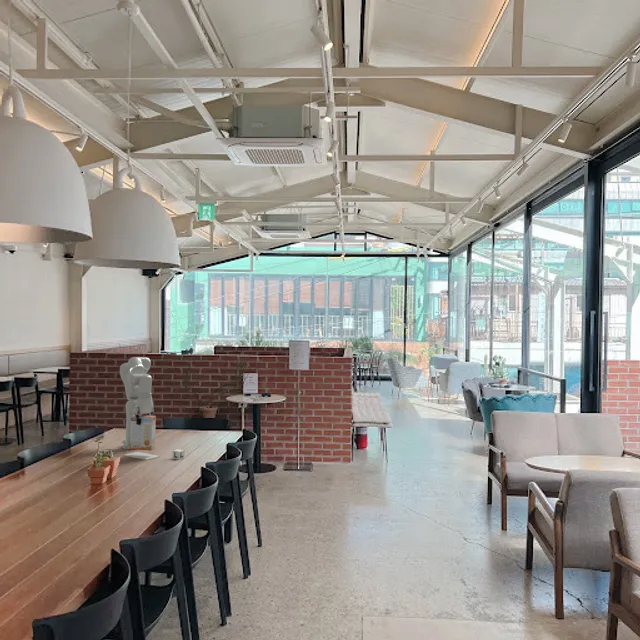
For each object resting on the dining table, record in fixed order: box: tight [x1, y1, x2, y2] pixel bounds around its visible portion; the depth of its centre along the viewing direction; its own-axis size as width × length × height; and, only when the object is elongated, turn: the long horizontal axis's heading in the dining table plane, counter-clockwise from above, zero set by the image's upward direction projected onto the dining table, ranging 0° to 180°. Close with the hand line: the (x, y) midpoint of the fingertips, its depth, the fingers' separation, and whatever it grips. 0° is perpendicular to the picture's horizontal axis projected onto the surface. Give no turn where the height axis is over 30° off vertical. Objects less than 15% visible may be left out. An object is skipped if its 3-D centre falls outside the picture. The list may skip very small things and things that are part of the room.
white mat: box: [123, 451, 160, 461], centre depth 368 cm, size 19×11×1 cm, turn 63°
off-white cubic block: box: [172, 448, 185, 461], centre depth 367 cm, size 5×5×5 cm
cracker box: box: [130, 414, 157, 451], centre depth 368 cm, size 14×6×21 cm, turn 84°
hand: (143, 423), depth 368 cm, fingers closed on cracker box, 7 cm apart
